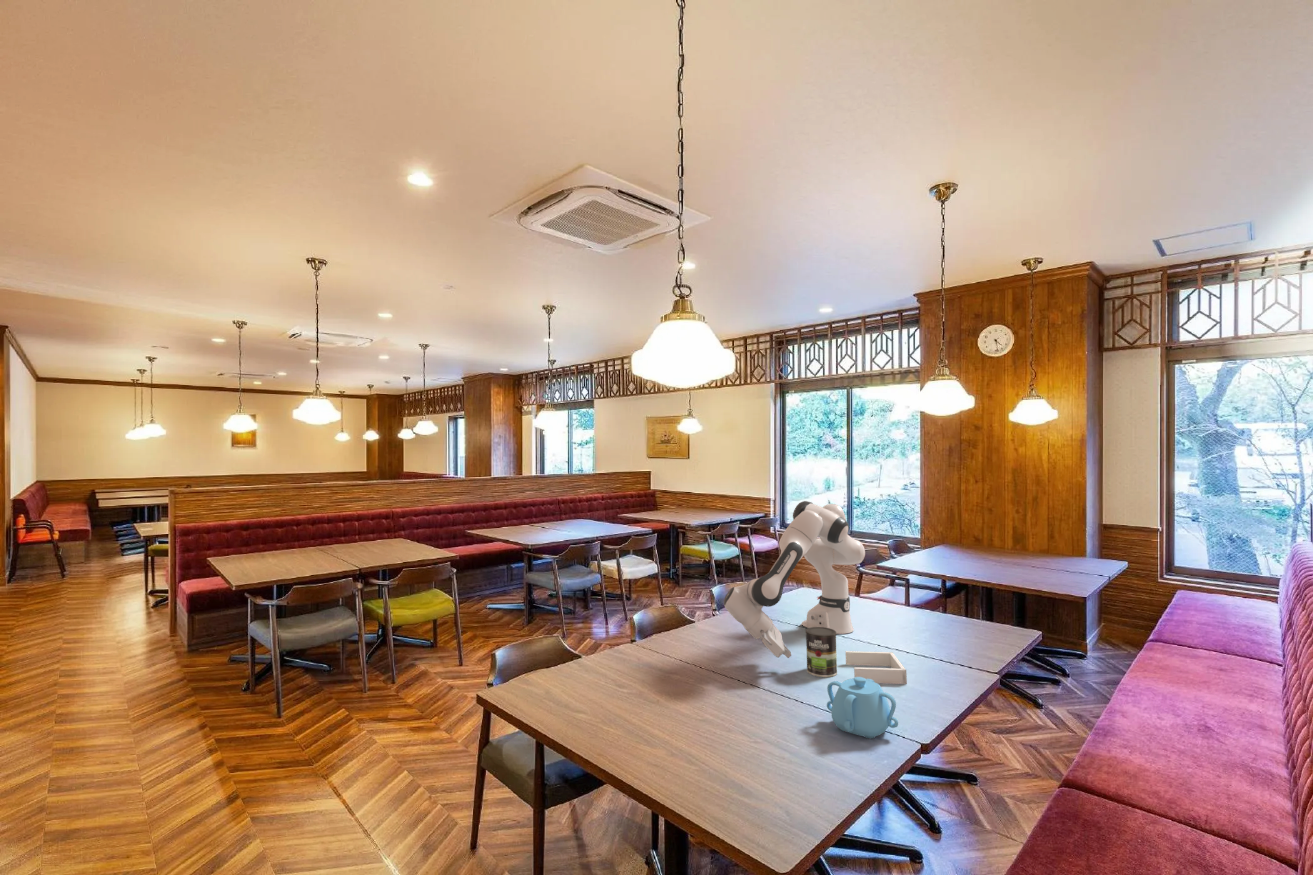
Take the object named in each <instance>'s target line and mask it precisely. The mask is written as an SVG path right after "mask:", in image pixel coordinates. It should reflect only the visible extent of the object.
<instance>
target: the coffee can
mask: <svg viewBox="0 0 1313 875" xmlns="http://www.w3.org/2000/svg"><path fill="white" fill-rule="evenodd" d="M805 640H806V643H805V646H806V647H805V648H806V673H808V674H809V675H811V676H813V677H819V678H831V677H832V678H833V677H835V676H837V675H838V664H837V662H838V660H837V659H838V658H837V634H836V631H835V630H833V629H830V628H825V627H811V628H806V629H805Z"/></svg>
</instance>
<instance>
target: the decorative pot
mask: <svg viewBox="0 0 1313 875" xmlns="http://www.w3.org/2000/svg"><path fill="white" fill-rule="evenodd" d="M833 686H837V687H838V689H837V690H836V693H835V694H834V692H833ZM826 689H827V694H828V697H829V700H828V701H827V703H826V708H827V709H828V711H829V712H831V719H832V721H833V723H834V724H835V725H836V727H837V728H838V729H840V731H842V732H844V731H846V732H845V733H849V734H853V735H856V736H860V737H864V736H865V737H864V738H866V739H868V738H873V739H875V738H874V737H877V736H880V735H882V734H884V733H885V732H886V731H887V730H888V729H889V728H892V729H894V728H897V727H898V726H899V719H897V718H896V717H894V714H895V711H896V708H897V703H896V699H895V697H894V696H893V695H891V694H890V693H888V692H885V691H884V690H883V688H882V687H881V685H880V683H875V682H874V681H873V680H872V679H865V678H862V677H853V678H849V679H846V680H844V681H843V682H842V681H841V682H840V681H839V680H834V681H830V682H829V683H828V684H827V688H826ZM889 701H890V704H891V706H890V704H889ZM892 721H893V722H892Z"/></svg>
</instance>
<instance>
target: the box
mask: <svg viewBox="0 0 1313 875" xmlns="http://www.w3.org/2000/svg"><path fill="white" fill-rule="evenodd" d="M845 665H846V666H854V667H853V669H854V670H853V671H854V672H853V673H854V677H853V678H855V677H862V678H865V679H872V680H873V681H874V682H875V683H877V684H888V685H889V684H891V685H895V684H896V685H907V684H908V678H907V675H908V673H907V668H905V667H904V665H903V664H902V662H900V660H899V659H898V657H897V656H896V655H895V654H894V652H892V651H891V652H890V651H889V652H888V651H858V650H857V651H856V650H855V651H854V650H852V651H851V650H845ZM856 666H865V667H856ZM868 666H871V667H868ZM875 666H876V667H875ZM882 667H883V668H882ZM886 667H889V668H886Z"/></svg>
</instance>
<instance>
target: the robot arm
mask: <svg viewBox="0 0 1313 875" xmlns="http://www.w3.org/2000/svg"><path fill="white" fill-rule="evenodd" d="M792 519H793V520H792V521H791V523H789V525H788V526H787V527H786V529H785V530H784V532H783V533H782V535H781V537H780V539H779V542H778V547H779V550H780V554H779V556H778V558H777V560H776V561H775V562H774V564H773V565H772V567H771V569H770V570H769V572H768V573H766V574H765V575H763V576H761V577H758V578H753V579H751V580H749V581H748V582H746V583H744V584H741V585H737V586H734V587H731V588H730V589H729V591H727V593H726V594H725V597H724V599H723V606H724V608H725V609H726V611H727V612H728V613H729V614H730V616H731V617H732V618H734V620H735V621H736V622H738V623H740V624H741V625H742V626H743V627H744V629H745V630H746V632H747V633H749V634H750V635H751V636H752V637H753V638H754V640H759V639H760V641H762V644H764V645H765V647H766V648H767V649H768V650H769V651H770V652H771V653H772V654H773V655H774V656H775V657H776V658H780V657H781V656H782V655H784V656H785V657H786V658H787V659H790V657H792V652H791V651H790V650H789V648H788V647H787V646H786V644H785V643H784V641H783V636H782V633H781V631H780V630H779V629H778V628H777V626H776V625H775V624H774V623H773V620H772V619H771V618H770V616H768V615H767V614H766V613H765V612H764V611H763V610H762V609H763V607H767V608H768V607H773V606H776V605H777V604H778V603H779V602H780V600H781V599H782V596H783V591H784V587H785V584H786V582H787V580H788V579H789V577H790V575H791V573H792V572H793V571H794V569H795V568H796V566H797V565H798V563H799V561H801V560H802V558H804V559H805V560H806V561H807V562H808V563H809V564H811V565H812V567H814V568H815V570H816V572H817V573H818V575H819V576H818V577H819V579H820V584H821V595H819V596H817V597H816V598H817V599H816V600H818V603H817V604H816V605H814V606H812V608H810V609H809V610H808V611H807V613H806V620H803V621H801V624H800V625H801V626H802V625H803V627H805V628H806V629H808V628H811V627H825V628H830V629H833V630H835V631H836V635H840V634H841V635H842V634H843V635H844V634H851V633H852V632H854V631H855V629H854V626H853V623H852V618H851V612H850V608H851V600H850V598H851V597H850V596H849V580H848V578H847V576H845V575H844V574H843V573H842V572H839V571H837V570H835V569H834V567H833V566H834V565H842V566H850V565H857V564H861V563H862V562H863V561H864V559H865V556H866V549H865V547H864V545H863V543H862V542H861V541H860V540H857V539H855V538H853V537H851V536H850V535H849V534H848V533H849V532H848V531H849V528H850V526H849V522H848V521H847V518H846V515H845V511H844V510H843V508H842V507H841V506H840V505H838V504H835V503H828V504H826V505H824V506H823V507H822V506H820V505H818V504H815V503H813V502H812V501H807V500H803V501H801V502H799V503H798V504H797V505H796V506H795V508H794V510H793V513H792ZM818 537H819V538H818Z"/></svg>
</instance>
